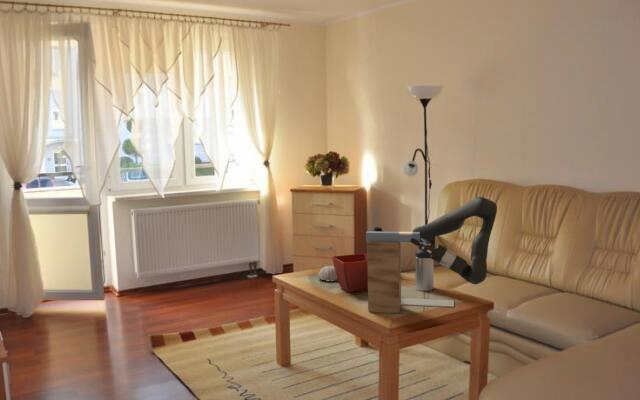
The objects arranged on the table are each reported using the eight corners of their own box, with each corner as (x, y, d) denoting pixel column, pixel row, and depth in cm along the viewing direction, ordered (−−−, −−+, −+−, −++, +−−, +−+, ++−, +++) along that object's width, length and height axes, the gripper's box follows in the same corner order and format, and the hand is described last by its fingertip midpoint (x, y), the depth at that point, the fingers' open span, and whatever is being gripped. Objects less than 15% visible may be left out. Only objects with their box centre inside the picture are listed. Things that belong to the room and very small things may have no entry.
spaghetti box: (367, 239, 255) (367, 231, 254) (419, 240, 249) (419, 232, 249) (365, 241, 251) (365, 232, 250) (419, 242, 245) (419, 233, 245)
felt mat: (399, 299, 270) (399, 298, 270) (453, 301, 264) (453, 300, 264) (397, 304, 261) (397, 303, 261) (453, 307, 254) (453, 306, 254)
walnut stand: (371, 305, 261) (370, 238, 258) (401, 306, 258) (400, 239, 255) (368, 312, 250) (366, 242, 247) (398, 313, 247) (398, 243, 244)
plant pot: (332, 286, 298) (331, 255, 296) (364, 283, 304) (364, 253, 302) (344, 295, 280) (344, 262, 278) (379, 291, 286) (378, 259, 284)
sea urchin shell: (342, 282, 307) (342, 268, 306) (318, 283, 306) (318, 269, 306) (340, 276, 320) (339, 263, 320) (317, 277, 320) (316, 263, 319)
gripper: (448, 246, 251) (416, 228, 254) (447, 252, 238) (414, 233, 240) (439, 260, 253) (408, 242, 255) (438, 266, 239) (406, 247, 242)
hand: (411, 237), depth 248 cm, fingers open, 8 cm apart
